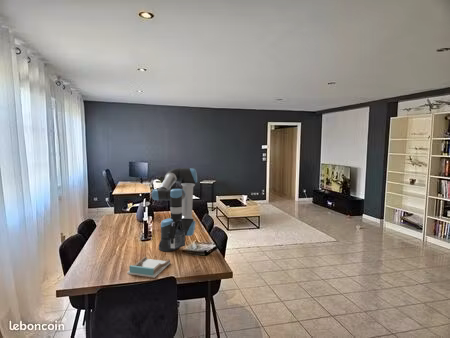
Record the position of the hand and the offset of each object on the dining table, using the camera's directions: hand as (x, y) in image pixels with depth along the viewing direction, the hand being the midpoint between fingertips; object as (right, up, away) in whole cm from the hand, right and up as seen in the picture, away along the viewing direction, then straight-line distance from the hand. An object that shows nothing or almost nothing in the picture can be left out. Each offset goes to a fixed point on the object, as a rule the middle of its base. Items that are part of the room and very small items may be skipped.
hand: (176, 244), depth 186 cm
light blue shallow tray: (-18, -16, 0) cm, 24 cm away
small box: (0, -2, 0) cm, 2 cm away
